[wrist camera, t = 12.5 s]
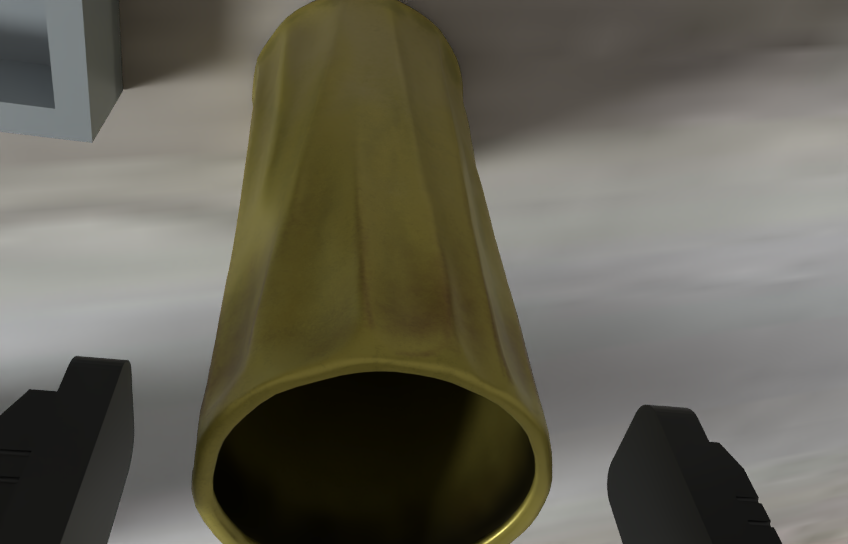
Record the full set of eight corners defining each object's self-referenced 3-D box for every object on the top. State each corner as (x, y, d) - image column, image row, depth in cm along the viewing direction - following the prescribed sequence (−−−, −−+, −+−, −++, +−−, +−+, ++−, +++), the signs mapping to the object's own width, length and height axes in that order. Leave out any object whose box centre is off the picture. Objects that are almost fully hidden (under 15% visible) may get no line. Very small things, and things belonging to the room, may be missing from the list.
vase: (276, -39, 20) (186, 288, 8) (492, 25, 21) (664, 378, 10) (237, 160, 23) (134, 592, 12) (426, 205, 25) (498, 625, 13)
